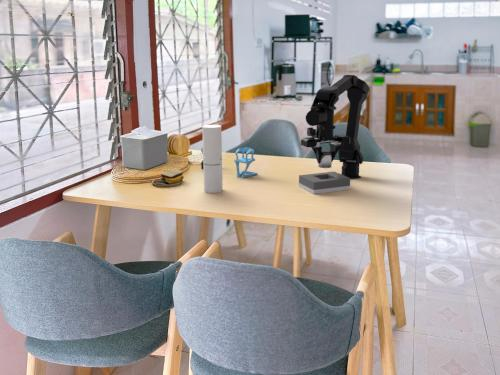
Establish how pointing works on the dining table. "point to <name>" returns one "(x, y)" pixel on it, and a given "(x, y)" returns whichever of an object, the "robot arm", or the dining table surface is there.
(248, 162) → the chair
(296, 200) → the dining table surface
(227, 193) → the dining table surface
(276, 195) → the dining table surface
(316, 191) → the grey plate with pocket
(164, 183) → the toy sandwich meal
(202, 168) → the watch
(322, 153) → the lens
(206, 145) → the cylindrical container
